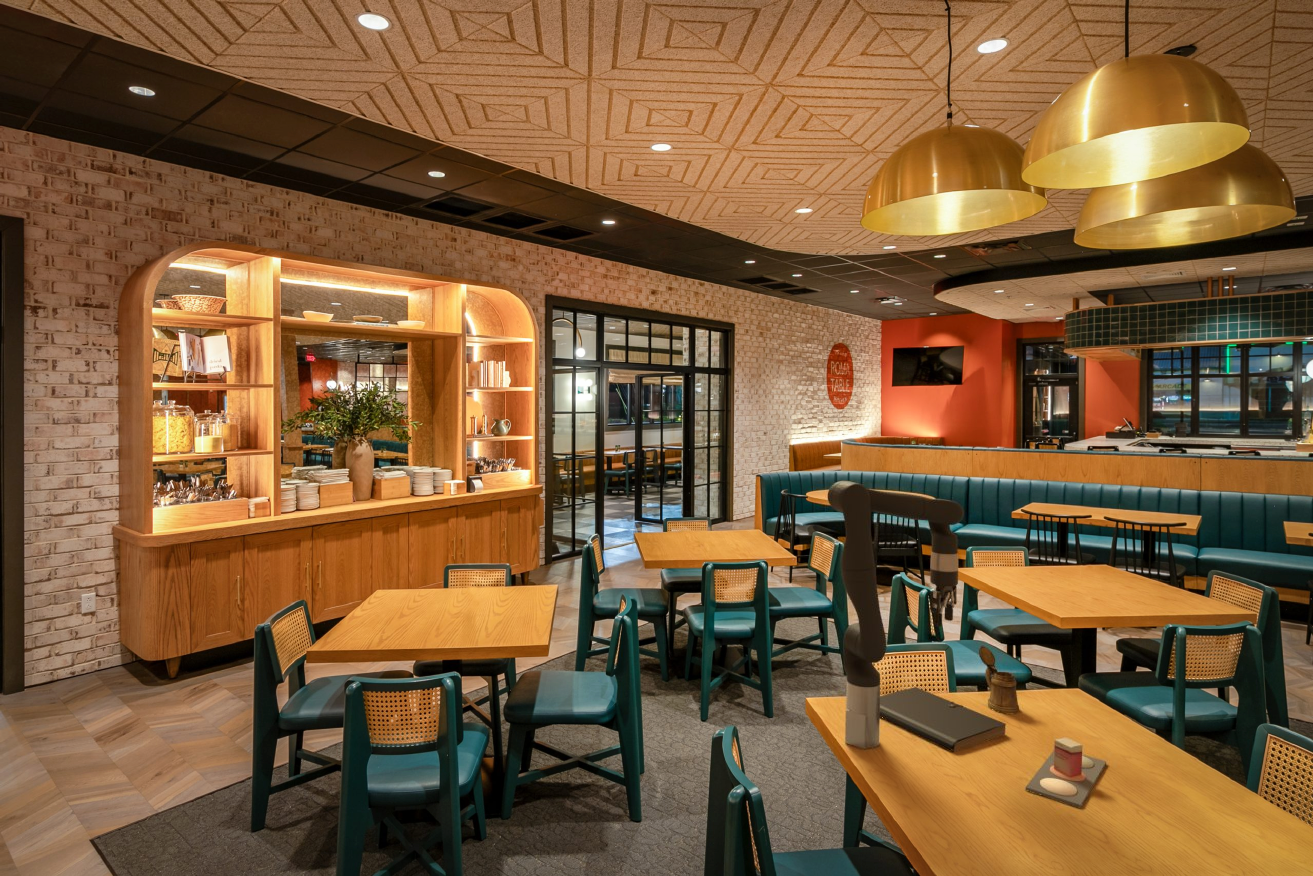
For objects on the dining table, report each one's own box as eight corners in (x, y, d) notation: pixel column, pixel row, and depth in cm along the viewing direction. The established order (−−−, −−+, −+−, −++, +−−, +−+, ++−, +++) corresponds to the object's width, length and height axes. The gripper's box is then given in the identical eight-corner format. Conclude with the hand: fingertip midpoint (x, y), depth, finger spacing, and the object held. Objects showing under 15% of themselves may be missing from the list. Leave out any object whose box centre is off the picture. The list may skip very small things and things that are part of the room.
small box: (1052, 769, 183) (1053, 739, 182) (1064, 766, 184) (1065, 736, 184) (1070, 778, 178) (1071, 747, 178) (1082, 775, 179) (1083, 744, 179)
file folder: (1006, 722, 205) (952, 741, 194) (1006, 736, 205) (951, 755, 194) (915, 685, 234) (863, 700, 222) (915, 697, 234) (863, 712, 223)
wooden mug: (989, 696, 235) (990, 643, 235) (1025, 711, 223) (1026, 655, 222) (970, 700, 231) (971, 646, 231) (1006, 716, 219) (1007, 659, 219)
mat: (1080, 808, 166) (1080, 803, 166) (1025, 790, 174) (1025, 785, 174) (1106, 764, 188) (1106, 760, 188) (1056, 750, 196) (1056, 746, 196)
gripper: (948, 573, 196) (947, 630, 196) (966, 566, 206) (965, 620, 207) (921, 569, 201) (920, 625, 201) (940, 562, 212) (939, 616, 212)
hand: (943, 623), depth 204 cm, fingers open, 8 cm apart
